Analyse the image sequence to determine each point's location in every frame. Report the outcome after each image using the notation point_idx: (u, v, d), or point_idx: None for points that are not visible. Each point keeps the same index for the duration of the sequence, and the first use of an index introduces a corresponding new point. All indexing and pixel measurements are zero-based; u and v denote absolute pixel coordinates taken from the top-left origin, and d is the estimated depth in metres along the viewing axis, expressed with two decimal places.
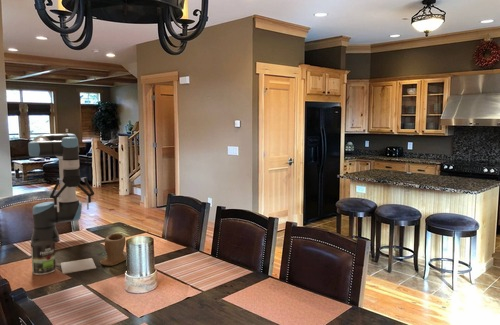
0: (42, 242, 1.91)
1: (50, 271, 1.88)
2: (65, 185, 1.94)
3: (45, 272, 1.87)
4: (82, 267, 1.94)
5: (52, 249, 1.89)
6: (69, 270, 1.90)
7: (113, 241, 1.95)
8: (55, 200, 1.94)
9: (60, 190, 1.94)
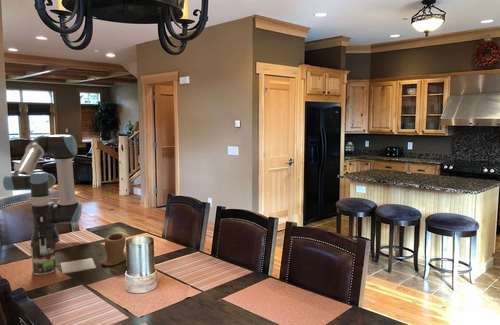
0: None
1: (50, 271, 1.88)
2: None
3: (45, 272, 1.87)
4: (82, 267, 1.94)
5: (52, 249, 1.89)
6: (69, 270, 1.90)
7: (113, 241, 1.95)
8: None
9: None
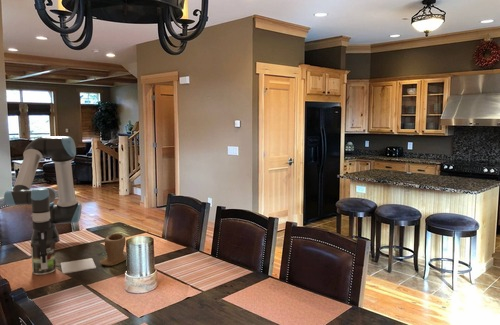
0: None
1: (50, 271, 1.88)
2: None
3: (45, 272, 1.87)
4: (82, 267, 1.94)
5: (52, 249, 1.89)
6: (69, 270, 1.90)
7: (113, 241, 1.95)
8: None
9: None
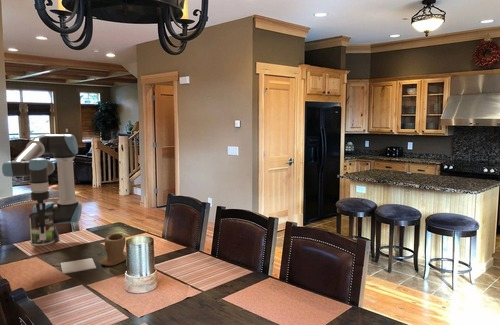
0: None
1: (49, 242, 1.87)
2: None
3: (44, 243, 1.86)
4: (82, 267, 1.94)
5: (51, 220, 1.88)
6: (69, 270, 1.90)
7: (113, 241, 1.95)
8: None
9: None
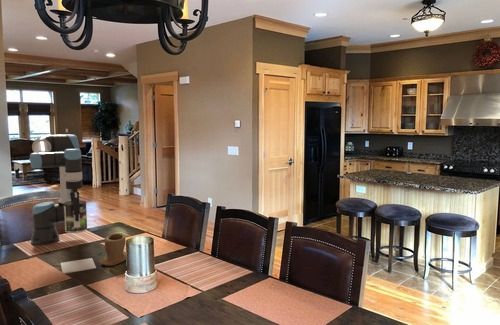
0: None
1: (82, 230, 1.93)
2: (70, 196, 1.95)
3: (78, 230, 1.91)
4: (82, 267, 1.94)
5: (84, 208, 1.94)
6: (69, 270, 1.90)
7: (113, 241, 1.95)
8: None
9: None
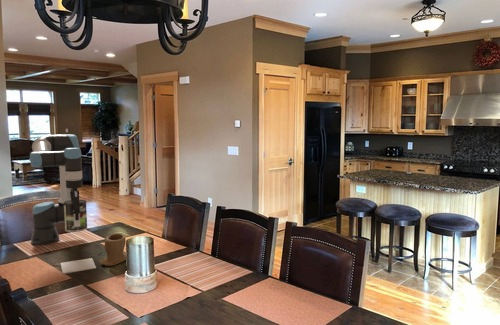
0: None
1: (82, 229, 1.93)
2: (70, 195, 1.95)
3: (78, 229, 1.91)
4: (82, 267, 1.94)
5: (84, 207, 1.93)
6: (69, 270, 1.90)
7: (113, 241, 1.95)
8: None
9: None
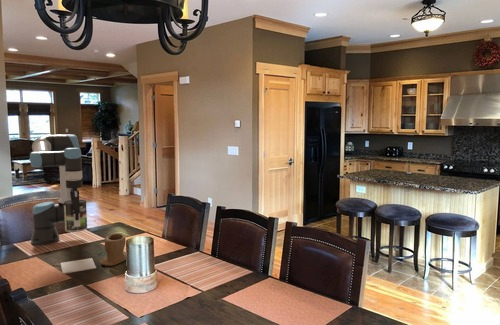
0: None
1: (82, 229, 1.93)
2: (70, 195, 1.95)
3: (78, 229, 1.91)
4: (82, 267, 1.94)
5: (84, 207, 1.93)
6: (69, 270, 1.90)
7: (113, 241, 1.95)
8: None
9: None
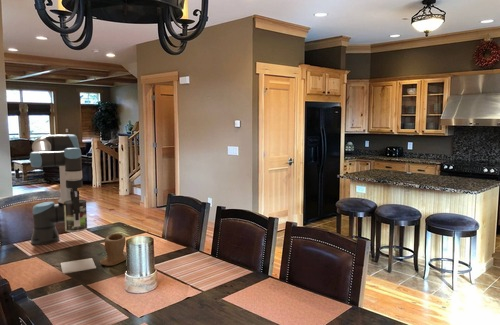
0: None
1: (82, 229, 1.93)
2: (70, 195, 1.95)
3: (78, 229, 1.91)
4: (82, 267, 1.94)
5: (84, 207, 1.93)
6: (69, 270, 1.90)
7: (113, 241, 1.95)
8: None
9: None
